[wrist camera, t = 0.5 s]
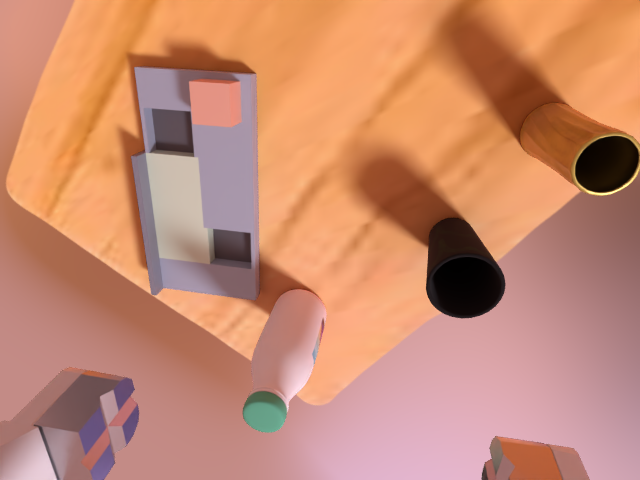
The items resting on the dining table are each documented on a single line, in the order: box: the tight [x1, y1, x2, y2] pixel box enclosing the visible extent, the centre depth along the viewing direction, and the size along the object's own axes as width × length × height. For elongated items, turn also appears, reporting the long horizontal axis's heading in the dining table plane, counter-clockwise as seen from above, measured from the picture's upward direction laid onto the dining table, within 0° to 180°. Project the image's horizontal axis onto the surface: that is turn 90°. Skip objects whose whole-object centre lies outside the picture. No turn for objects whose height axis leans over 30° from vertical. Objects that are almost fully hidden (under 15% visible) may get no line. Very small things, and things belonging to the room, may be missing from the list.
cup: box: [426, 218, 505, 318], centre depth 48 cm, size 8×8×12 cm
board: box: [131, 66, 260, 300], centre depth 55 cm, size 30×15×4 cm, turn 177°
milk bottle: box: [243, 289, 326, 432], centre depth 53 cm, size 8×8×20 cm
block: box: [189, 79, 242, 127], centre depth 47 cm, size 4×4×4 cm
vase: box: [520, 103, 640, 196], centre depth 40 cm, size 6×6×14 cm
